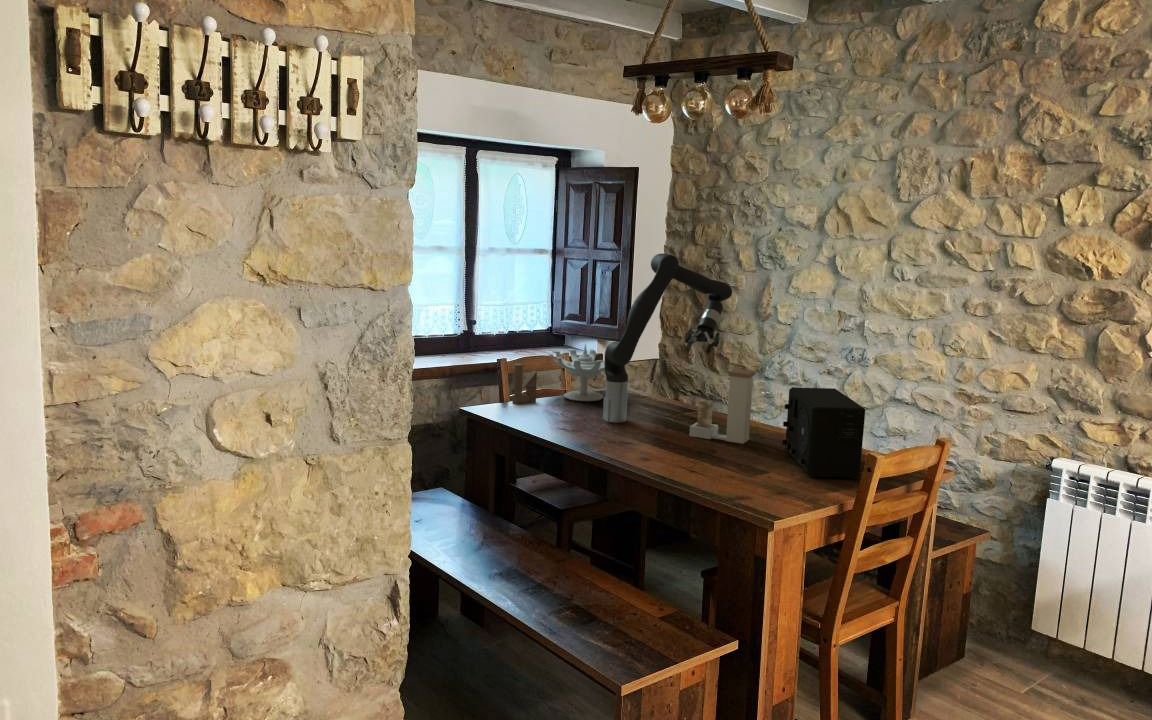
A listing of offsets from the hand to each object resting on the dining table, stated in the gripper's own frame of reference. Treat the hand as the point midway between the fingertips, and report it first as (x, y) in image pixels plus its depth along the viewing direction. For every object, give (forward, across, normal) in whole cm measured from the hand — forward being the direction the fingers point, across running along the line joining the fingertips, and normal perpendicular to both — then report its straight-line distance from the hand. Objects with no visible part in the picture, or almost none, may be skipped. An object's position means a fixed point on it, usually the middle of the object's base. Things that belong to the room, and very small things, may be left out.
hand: (697, 351), depth 371 cm
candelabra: (+11, -62, +33) cm, 71 cm away
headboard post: (+33, +18, +10) cm, 39 cm away
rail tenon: (+34, +11, +10) cm, 37 cm away
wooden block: (+29, -79, +16) cm, 85 cm away
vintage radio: (+45, +60, -1) cm, 75 cm away
